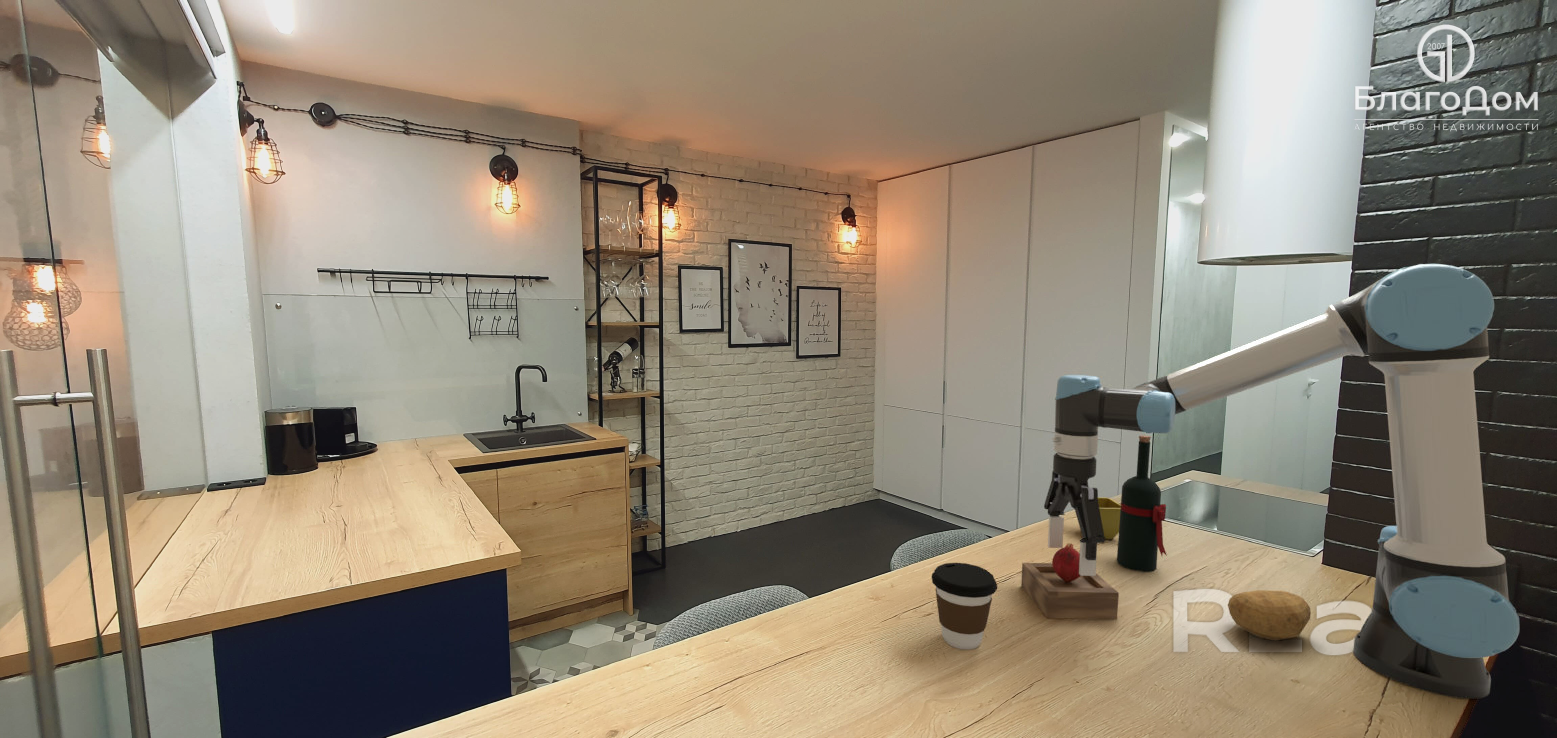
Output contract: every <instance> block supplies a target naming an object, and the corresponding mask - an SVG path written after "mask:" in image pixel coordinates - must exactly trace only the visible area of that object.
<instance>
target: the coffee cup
mask: <svg viewBox="0 0 1557 738" xmlns="http://www.w3.org/2000/svg"><path fill="white" fill-rule="evenodd" d="M931 582H932V584H933V585H934V586H935V597H936V605H937V614H938V619H939V620H938V621H939V623H940V627H941V630H940V631H941V636H942V638H943V640H944V642H945V643H946V644H948V645H949V646H951V647H952V648H956V649H958V650H974V649H977V648H978V647H979V645H980V644H981V643H982V640H983V636H984V632H985V629H986V628H987V624H988V619H989V614H990V611H991V606H992V600H993V598H992V596H993V595H995V592H997V590H998V584H997V581H996V579H995V577H994V574H992V573H991V572H989V570H987V569H985V568H983V567H981V566H978V565H975V564H970V563H964V562H946V563H943V564H941V565H938V566H937V567H936V568H935V569H934V570H933V572H932V574H931Z"/></svg>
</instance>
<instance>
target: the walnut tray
mask: <svg viewBox="0 0 1557 738" xmlns="http://www.w3.org/2000/svg"><path fill="white" fill-rule="evenodd" d="M1020 584H1021V585H1020V587H1021V589H1023V590H1024V592H1025V594H1027V595H1028V596H1029V598H1030V599H1031V600H1032V601H1033V602H1034V603H1035V605H1036V606H1037V607H1038V608H1039V610H1041V612H1042V613H1043V615H1044V616H1045V617H1046V618H1047V619H1084V620H1085V619H1087V620H1118V612H1119V611H1118V609H1119V594H1120V592H1118V590H1117V589H1115V588H1114V587H1113V586H1112V585H1110V584H1109V583H1108V582H1107V581H1105V580H1104V578H1102V577H1101V576H1100V575H1099V574H1097V573H1096V576H1081V577H1079V578H1077V579H1076V580H1074V581H1071V582H1069V583H1067V582H1065V581H1064V580H1063V579H1061V578H1060V577H1059V576H1058V575H1057V574H1056V573H1055V571H1054V569H1053V566H1052V562H1050V563H1049V562H1044V563H1043V562H1022V563H1021V580H1020Z"/></svg>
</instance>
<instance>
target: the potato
mask: <svg viewBox="0 0 1557 738" xmlns="http://www.w3.org/2000/svg"><path fill="white" fill-rule="evenodd" d="M1227 607H1228V611H1229V615H1230V617H1231V619H1232V620H1233V621H1234V623H1235V624H1236V625H1237V626H1239V627H1240V628H1241V629H1242V630H1244V631H1246V632H1247V633H1250V634H1251V635H1253V636H1256V637H1258V638H1262V639H1264V640H1271V641H1279V640H1281V641H1282V640H1286V639H1293V638H1296V637H1298V636H1299V635H1301V634H1302V632H1303V630H1305V628H1306V625H1308V623H1309V621H1310V620H1311V614H1312V612H1311V607H1310V605H1309V603H1308V602H1307V601H1306V600H1305V599H1304V598H1303V597H1301V596H1299V595H1297V594H1294V593H1291V592H1290V591H1285V590H1261V589H1260V590H1259V589H1258V590H1252V591H1243V592H1239V593H1236V594H1234V595H1232V596H1231V597H1230V598H1229V601H1228V604H1227Z"/></svg>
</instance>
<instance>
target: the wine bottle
mask: <svg viewBox="0 0 1557 738" xmlns="http://www.w3.org/2000/svg"><path fill="white" fill-rule="evenodd" d="M1151 438H1152V437H1151V436H1149V435H1138V439H1139V440H1138V446H1137V447H1138V448H1137V451H1138V452H1137V462H1136V463H1137V465H1136V475H1135V476H1132V477H1130V478H1128V479H1127V480H1126V481H1124V483H1123V484H1122V486H1121V496H1120V497H1121V498H1120V505H1121V509H1120V523H1119V533H1118V536H1117V537H1118V539H1117V540H1118V541H1117V553H1116V562H1117V564H1118V565H1119V566H1122V567H1123V568H1126V569H1128V570H1131V571H1136V572H1143V573H1149V572H1150V573H1152V572H1154V571H1156V570H1157V566H1158V553H1159V552H1160V555H1161V557H1163V555H1165V556H1167V555H1168V554H1167V552H1166V549H1165V546H1164V539H1163V538H1164V537H1163V536H1164V535H1163V522H1165V520H1166V515H1167V514H1166V512H1167V506H1166V503H1165V504H1162V502H1161V501H1162V498H1161V497H1162V491H1161V488H1160V487H1159V485H1158V484H1157V482H1156V481H1154V480H1153V479H1152V478H1150V477H1149V467H1150V453H1151V451H1150V450H1151V448H1150V447H1151V442H1150V441H1151ZM1158 551H1159V552H1158Z"/></svg>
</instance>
